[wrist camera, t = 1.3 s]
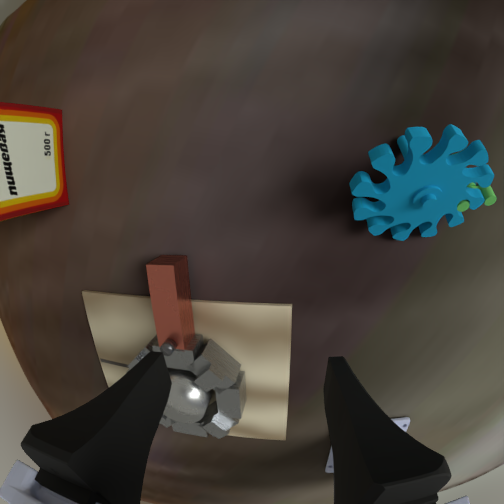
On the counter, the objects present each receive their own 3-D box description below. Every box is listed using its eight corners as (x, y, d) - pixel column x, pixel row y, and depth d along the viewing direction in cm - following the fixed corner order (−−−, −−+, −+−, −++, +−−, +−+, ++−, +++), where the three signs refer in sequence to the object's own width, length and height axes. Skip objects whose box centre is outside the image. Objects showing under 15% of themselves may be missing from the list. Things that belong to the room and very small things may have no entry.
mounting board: (285, 437, 27) (282, 461, 24) (119, 409, 31) (106, 427, 27) (291, 304, 23) (289, 324, 20) (84, 290, 27) (62, 302, 23)
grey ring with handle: (247, 423, 26) (241, 449, 23) (152, 408, 28) (139, 429, 25) (239, 256, 22) (228, 272, 19) (119, 254, 24) (94, 266, 20)
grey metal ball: (218, 398, 27) (207, 427, 23) (173, 391, 27) (157, 417, 24) (214, 359, 25) (200, 387, 22) (164, 353, 26) (146, 378, 22)
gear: (335, 245, 20) (382, 124, 11) (325, 180, 23) (353, 67, 14) (460, 250, 20) (532, 165, 11) (440, 193, 23) (490, 106, 14)
